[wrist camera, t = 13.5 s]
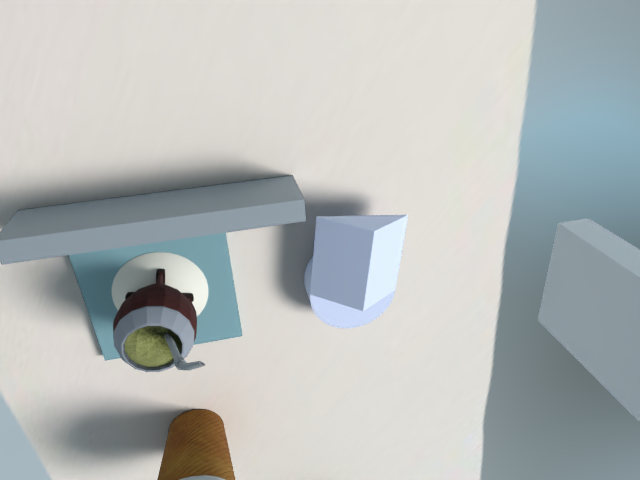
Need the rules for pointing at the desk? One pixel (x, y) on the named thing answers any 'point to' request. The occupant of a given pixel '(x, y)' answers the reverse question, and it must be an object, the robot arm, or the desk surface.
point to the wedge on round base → (354, 267)
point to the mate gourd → (156, 327)
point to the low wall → (150, 218)
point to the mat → (180, 273)
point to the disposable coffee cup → (196, 448)
